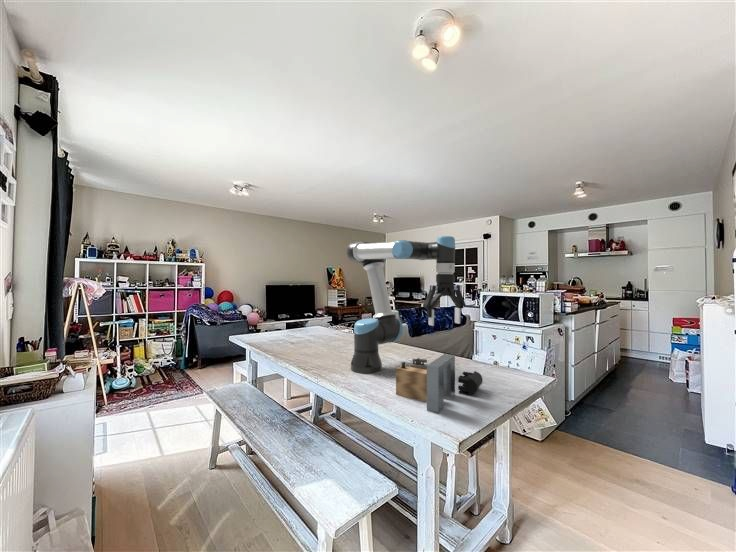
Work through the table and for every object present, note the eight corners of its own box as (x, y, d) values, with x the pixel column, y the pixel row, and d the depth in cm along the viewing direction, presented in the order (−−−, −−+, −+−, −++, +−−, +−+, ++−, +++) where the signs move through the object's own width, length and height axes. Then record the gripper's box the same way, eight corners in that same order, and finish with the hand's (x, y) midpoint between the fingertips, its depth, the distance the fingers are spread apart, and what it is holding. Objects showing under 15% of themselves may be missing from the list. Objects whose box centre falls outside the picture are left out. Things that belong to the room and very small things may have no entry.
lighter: (408, 382, 131) (408, 358, 130) (410, 379, 134) (410, 356, 134) (427, 384, 128) (427, 360, 127) (429, 382, 131) (429, 358, 131)
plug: (395, 394, 117) (395, 363, 117) (401, 391, 121) (401, 360, 121) (428, 402, 110) (428, 368, 110) (433, 398, 114) (433, 365, 114)
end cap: (477, 397, 114) (477, 379, 114) (457, 394, 118) (457, 376, 118) (482, 389, 123) (482, 372, 123) (464, 385, 126) (464, 369, 126)
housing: (425, 410, 104) (425, 365, 104) (443, 392, 119) (443, 353, 119) (438, 413, 101) (438, 367, 101) (454, 395, 116) (454, 355, 116)
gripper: (425, 273, 121) (424, 327, 121) (474, 273, 131) (473, 323, 132) (415, 273, 128) (414, 324, 128) (462, 273, 138) (461, 321, 139)
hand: (444, 324), depth 130 cm, fingers open, 13 cm apart
